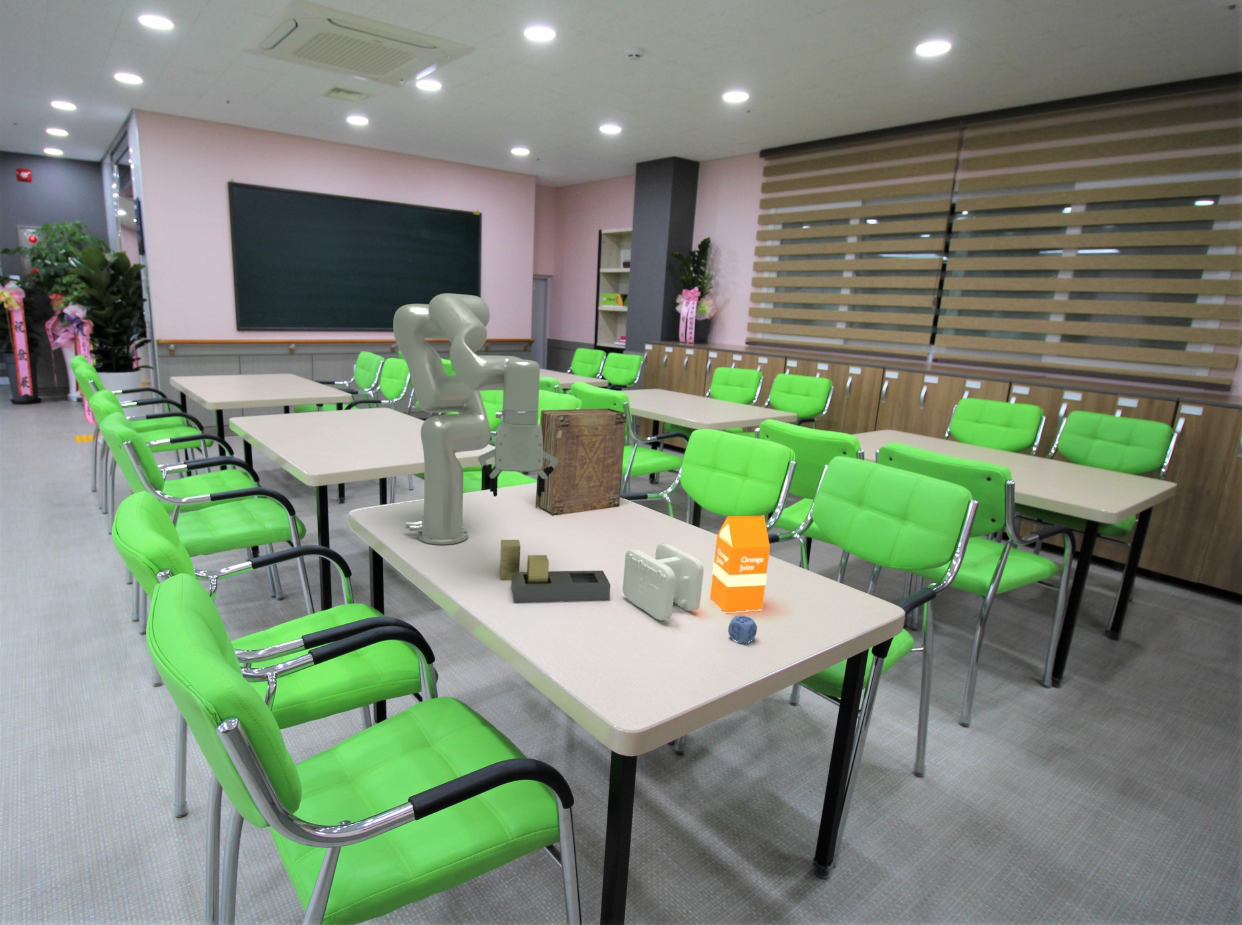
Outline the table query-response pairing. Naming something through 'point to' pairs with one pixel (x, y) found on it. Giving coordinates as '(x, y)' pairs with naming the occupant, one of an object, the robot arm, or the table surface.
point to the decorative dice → (742, 629)
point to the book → (582, 459)
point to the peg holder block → (557, 583)
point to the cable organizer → (663, 580)
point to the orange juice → (740, 564)
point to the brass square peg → (509, 558)
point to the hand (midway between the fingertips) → (517, 495)
